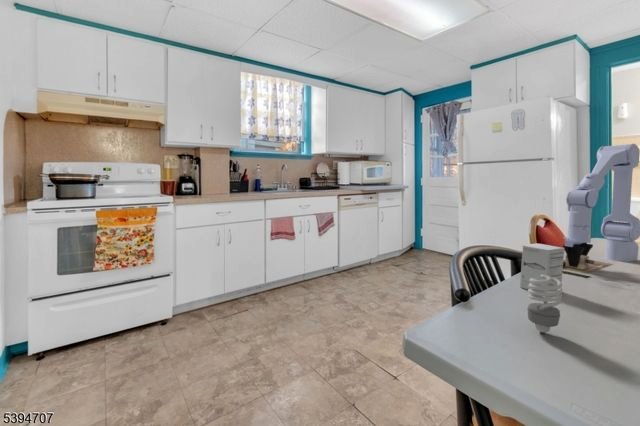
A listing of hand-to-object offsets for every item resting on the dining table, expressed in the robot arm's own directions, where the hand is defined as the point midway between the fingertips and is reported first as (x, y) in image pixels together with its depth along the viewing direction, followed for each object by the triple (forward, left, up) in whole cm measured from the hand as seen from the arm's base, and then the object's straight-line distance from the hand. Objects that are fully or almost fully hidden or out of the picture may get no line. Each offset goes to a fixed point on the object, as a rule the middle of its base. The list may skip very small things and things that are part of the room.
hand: (576, 265), depth 108 cm
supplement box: (+28, +10, -2) cm, 30 cm away
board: (-5, -1, -2) cm, 6 cm away
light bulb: (+52, +30, -2) cm, 60 cm away
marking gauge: (0, 0, -1) cm, 1 cm away
